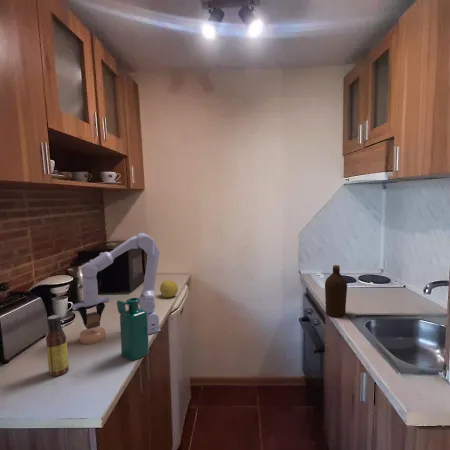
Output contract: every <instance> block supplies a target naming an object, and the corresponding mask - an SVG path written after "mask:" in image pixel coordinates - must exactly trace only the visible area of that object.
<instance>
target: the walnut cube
mask: <svg viewBox="0 0 450 450" xmlns="http://www.w3.org/2000/svg"><path fill="white" fill-rule="evenodd" d="M86 319H87V325H84V324H83V326H84V327H85V328H86V329H91V328H95V327H101V319H100V316H99V314H98V313H97V311H93V312H87V313H86Z"/></svg>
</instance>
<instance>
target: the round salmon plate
mask: <svg viewBox="0 0 450 450" xmlns="http://www.w3.org/2000/svg"><path fill="white" fill-rule="evenodd" d="M104 340H106V329H105V328H104V327H102V326H99V327H95V328H91V329H87V328H86V329H84V330H81V331H80V332H79V342H80V343H81V344H82V345H88V346H89V345H95V344H99V343H102V342H103V341H104Z"/></svg>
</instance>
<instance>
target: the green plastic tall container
mask: <svg viewBox="0 0 450 450" xmlns="http://www.w3.org/2000/svg"><path fill="white" fill-rule="evenodd" d="M140 300H141V299H140V298H139V297H130V298H129V297H128V298H127V299H126V300H125V301H123V300H121V299H120V300H117V301H116V307H117V311H118V313H119V327H120V328H119V329H120V349H121V351H120V353H121V356H122V357H124V358H126V359H128V360H130V361H135V360H138V359H140V358H142V357H145V356H146V355H148V354H149V353H150V349H149V348H150V347H149V346H150V343H149V341H150V340H149V335H148V314H147V312H146V311H145V310H142V309H140V307H139V303H138V302H139V301H140ZM126 305H127V306H128V308H127V309H126Z"/></svg>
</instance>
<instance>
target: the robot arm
mask: <svg viewBox="0 0 450 450" xmlns="http://www.w3.org/2000/svg"><path fill="white" fill-rule="evenodd" d="M139 248H140V249H142V250H143V251H144V252H145V253H146V255H147V259H146V265H145V272H144V273H145V274H144V278H143V280H144V281H143V287H142V289H141V293H140V295H139V297H138V298H140V299H141V300H140V301H139V302H138V306H140V307H139V309H142V310H145V311H146V312H147V314H148V336H149V335H151V334H154V333H157V332H161V331H162V329H160V318H159V315H158V314H157V313H156V303H155V286H156V285H155V284H156V278H157V270H158V264H159V258H160V250H159V248H158V246H157V244H156V242H155V239H153V238H152V236H150V235H148V234H147V233H145V232H139V233H137V234H136V235H133V236H132V237H130V238H128V239H127V240H125V241H124V242H123V243H121V244H120V245H118V246H117V247H115V248H114V249H113V250H111V251H110V252H109V251H104V252H100V253H99V255H98V256H96V257H95V258H93V259H92V258H91V259H89V261H87V262H86V263H84V264H83V265H82V268H81V274H82V294H83V295H82V297H83V300H82V301H80V302H77V303H73V304H72V305H71V307H72V309H71V310H73V311H76V310H77V311H78V313H79V315H80V317H81V320H82V324H83V326H84V325H87V319H86V314H88V311H87V309H86V308H88V307H93V306H95V309H96V312H97V313H98V314H99V316H100V320H102V319H101V318H102V314H103V312H104V310H105V308H106V304H108V303H110V299H109V297H99V290H98V289H99V288H98V279H97V275H98V272H101V271H103V270H104V269H106V268H108V266H111V265H112V264H113V263H114V260H115V258H117V257H119V256H121V255H122V254H123V253H126V252H127V251H129V250H131V249H133V250H134V249H136V250H137V249H139Z"/></svg>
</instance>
